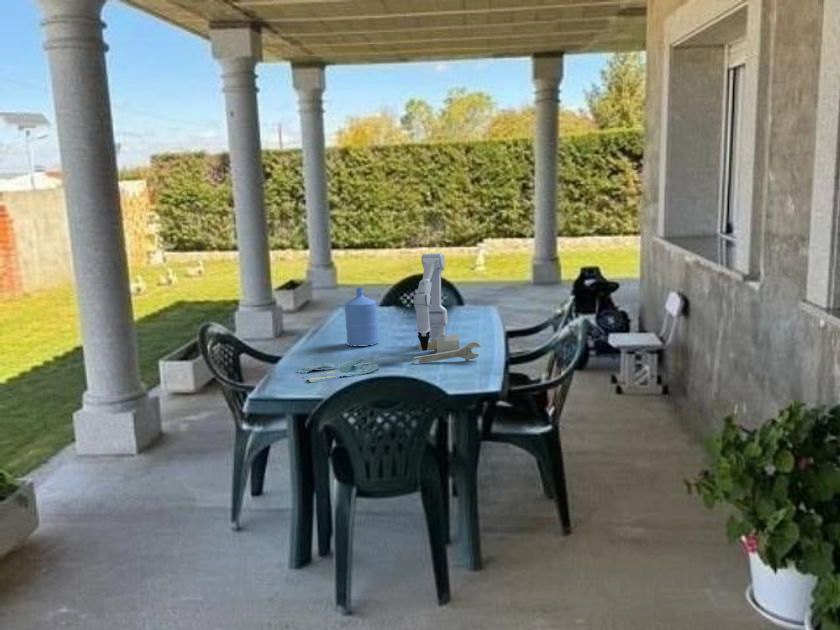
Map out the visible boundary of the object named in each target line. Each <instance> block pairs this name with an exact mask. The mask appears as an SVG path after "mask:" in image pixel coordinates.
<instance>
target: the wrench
mask: <svg viewBox="0 0 840 630" xmlns="http://www.w3.org/2000/svg"><path fill="white" fill-rule="evenodd" d="M474 347H475V348H478V349H479V348H480V349H482V348H481V347H482V346H481V345H480V343H478V342H476V341H469V342H468V343H467V344H465V345H464V346H462V347H459V349H458V350H455V351H449V352H443V353H432V354H425V355H419V356H414V357H413V358H412V364H414V365H419V364H418V363H421V364H424V363H425V364H426V363H431V362H437V361H442V360H447V359H453V358H461V359H462V358H463V359H465V361H466V362H467V361H468V362H469V361H470V360H474V359H476V358H478V357H479V356H480V354H479V353H476V352H473V351H472V349H474ZM416 359H417V360H418V362H415V361H414V360H416ZM416 363H417V364H416Z"/></svg>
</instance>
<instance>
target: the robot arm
mask: <svg viewBox="0 0 840 630" xmlns="http://www.w3.org/2000/svg"><path fill="white" fill-rule="evenodd" d="M420 259H421V260H420V261H421V265H422V268H423V274H422V279H421V280H420V281H419V282H418V283H419V284H418V287H417V293H415V294H414V296H413V304H414V309H415V311H416V312H415V314H416V328H415V329H414V332H417V339H418V340H419V343H421V347H422V350H421V351H423V352H424V351H425V352H426V351H428V350H427V348H428V343H429V342H430V341H431V342H434V339H436V335H446V326H447V325H448V324H449V323H448V322H449V315H448V310H447V308H446V307H444V306H443V305H442V272H443V271H444V270H445V257H444V254H443V252H440V253H439V252H438V253H437V252H436V253H423V254H422V255H421V258H420ZM430 304H431V305H430ZM429 340H430V341H429Z"/></svg>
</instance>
